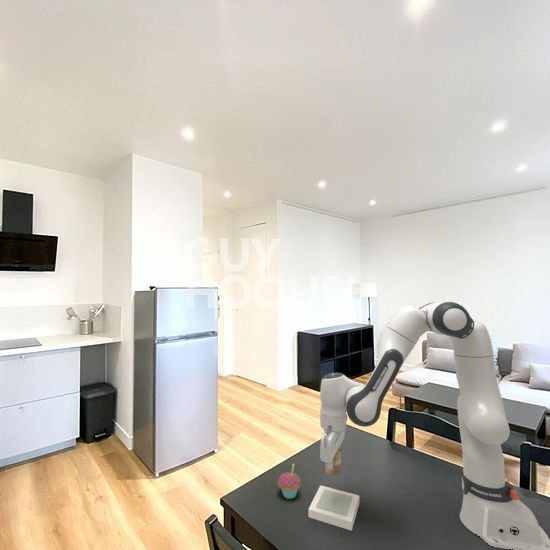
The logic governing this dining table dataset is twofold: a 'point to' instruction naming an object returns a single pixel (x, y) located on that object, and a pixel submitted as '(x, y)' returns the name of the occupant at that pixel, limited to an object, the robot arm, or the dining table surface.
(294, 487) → the cupcake
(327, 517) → the base slab
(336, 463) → the bread loaf
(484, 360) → the robot arm
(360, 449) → the dining table surface
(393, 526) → the dining table surface
